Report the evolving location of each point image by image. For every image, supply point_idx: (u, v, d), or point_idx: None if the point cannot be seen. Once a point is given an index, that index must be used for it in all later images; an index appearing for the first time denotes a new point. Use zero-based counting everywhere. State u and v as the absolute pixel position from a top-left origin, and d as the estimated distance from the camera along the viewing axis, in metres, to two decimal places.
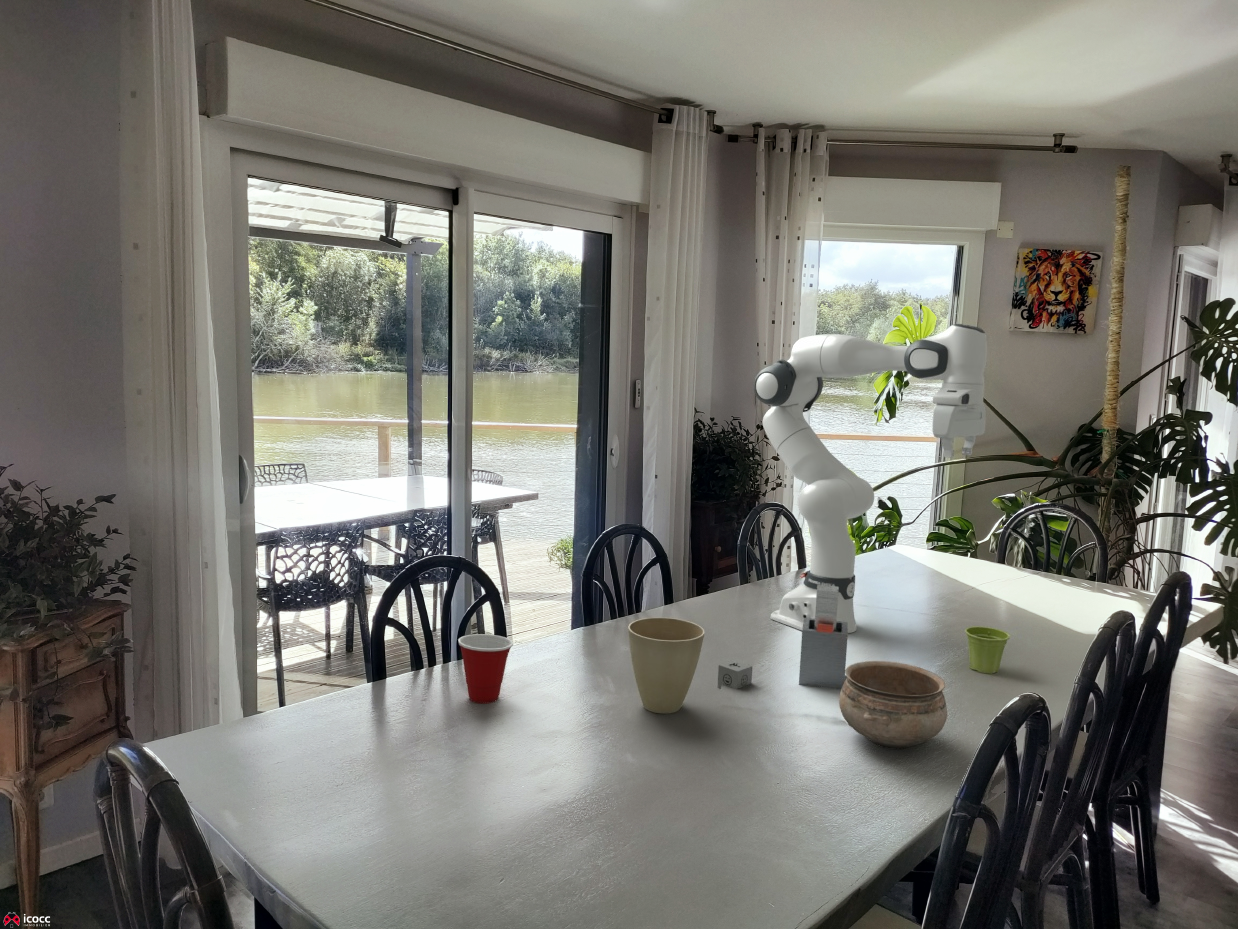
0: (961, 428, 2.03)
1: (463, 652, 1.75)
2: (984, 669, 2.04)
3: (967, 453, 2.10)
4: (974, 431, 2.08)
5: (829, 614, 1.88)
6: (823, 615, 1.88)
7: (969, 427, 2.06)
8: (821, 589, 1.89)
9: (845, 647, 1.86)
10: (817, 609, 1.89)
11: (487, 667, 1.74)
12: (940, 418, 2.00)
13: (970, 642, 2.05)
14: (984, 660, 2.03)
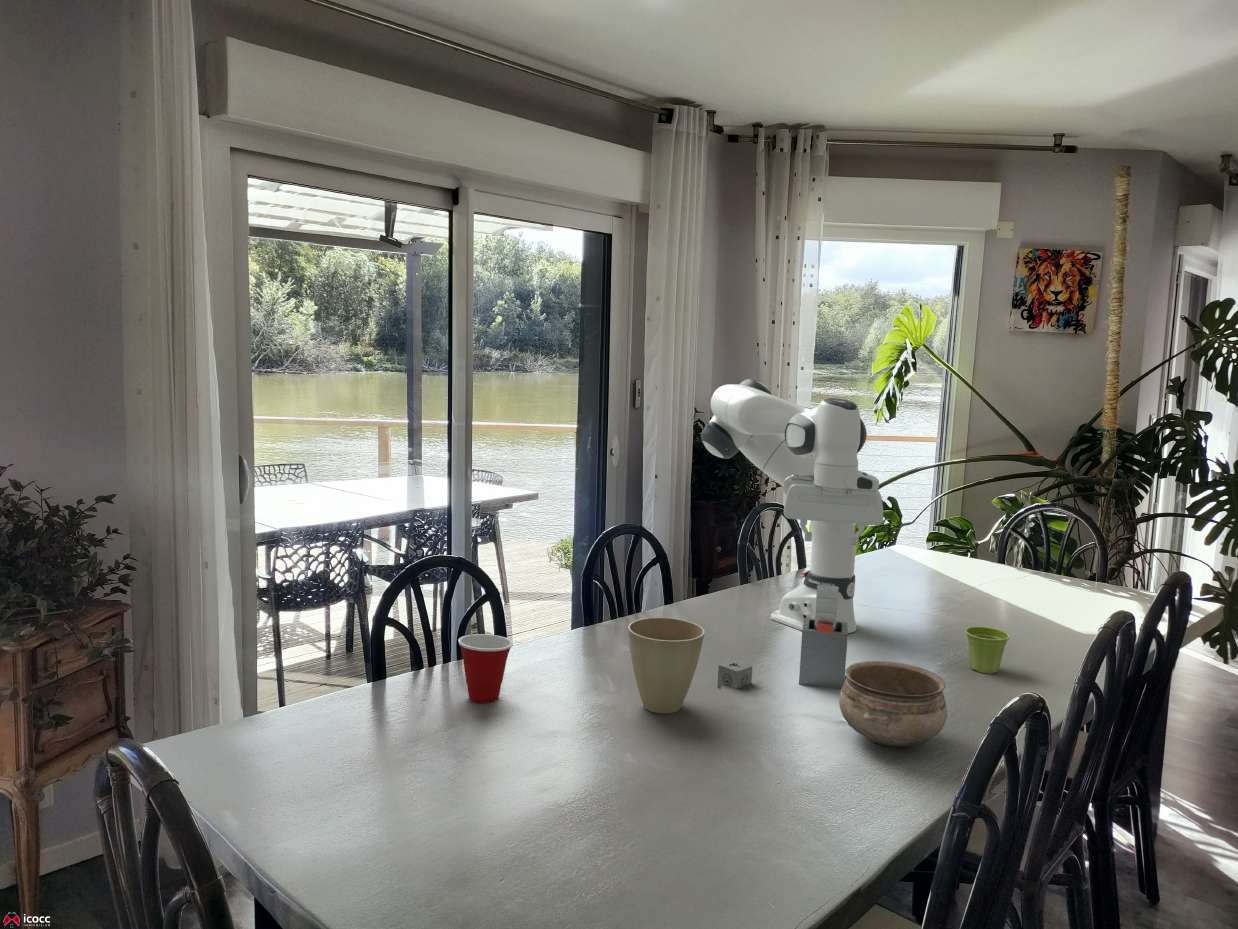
0: None
1: (463, 652, 1.75)
2: (984, 669, 2.04)
3: (811, 538, 1.91)
4: None
5: (829, 614, 1.88)
6: (823, 615, 1.88)
7: None
8: (821, 589, 1.89)
9: (845, 647, 1.86)
10: (817, 609, 1.89)
11: (487, 667, 1.74)
12: None
13: (970, 642, 2.05)
14: (984, 660, 2.03)
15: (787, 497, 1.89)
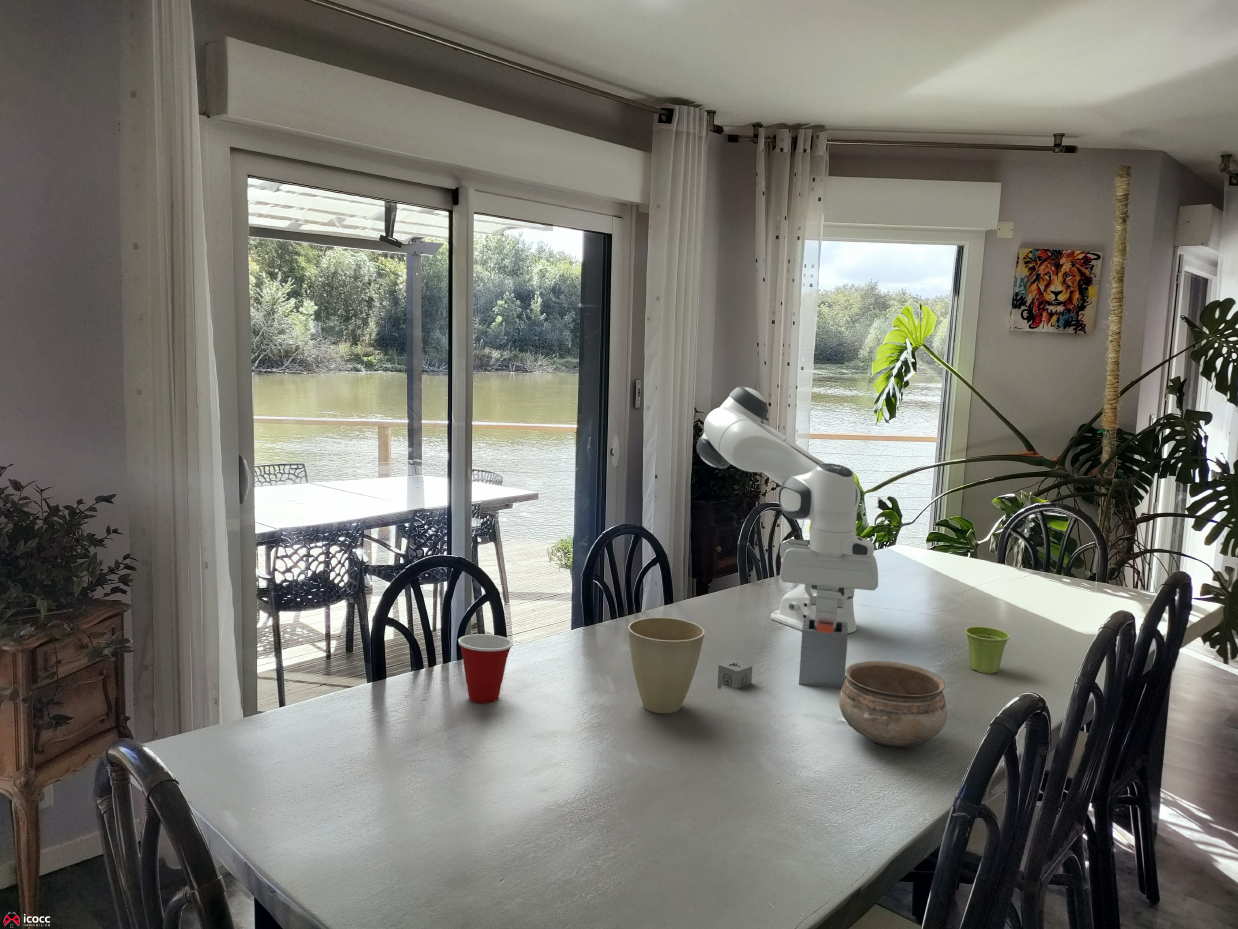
0: None
1: (463, 652, 1.75)
2: (984, 669, 2.04)
3: None
4: None
5: (829, 614, 1.88)
6: (823, 615, 1.88)
7: None
8: (821, 589, 1.89)
9: (845, 647, 1.86)
10: (817, 609, 1.89)
11: (487, 667, 1.74)
12: None
13: (970, 642, 2.05)
14: (984, 660, 2.03)
15: (783, 561, 1.90)
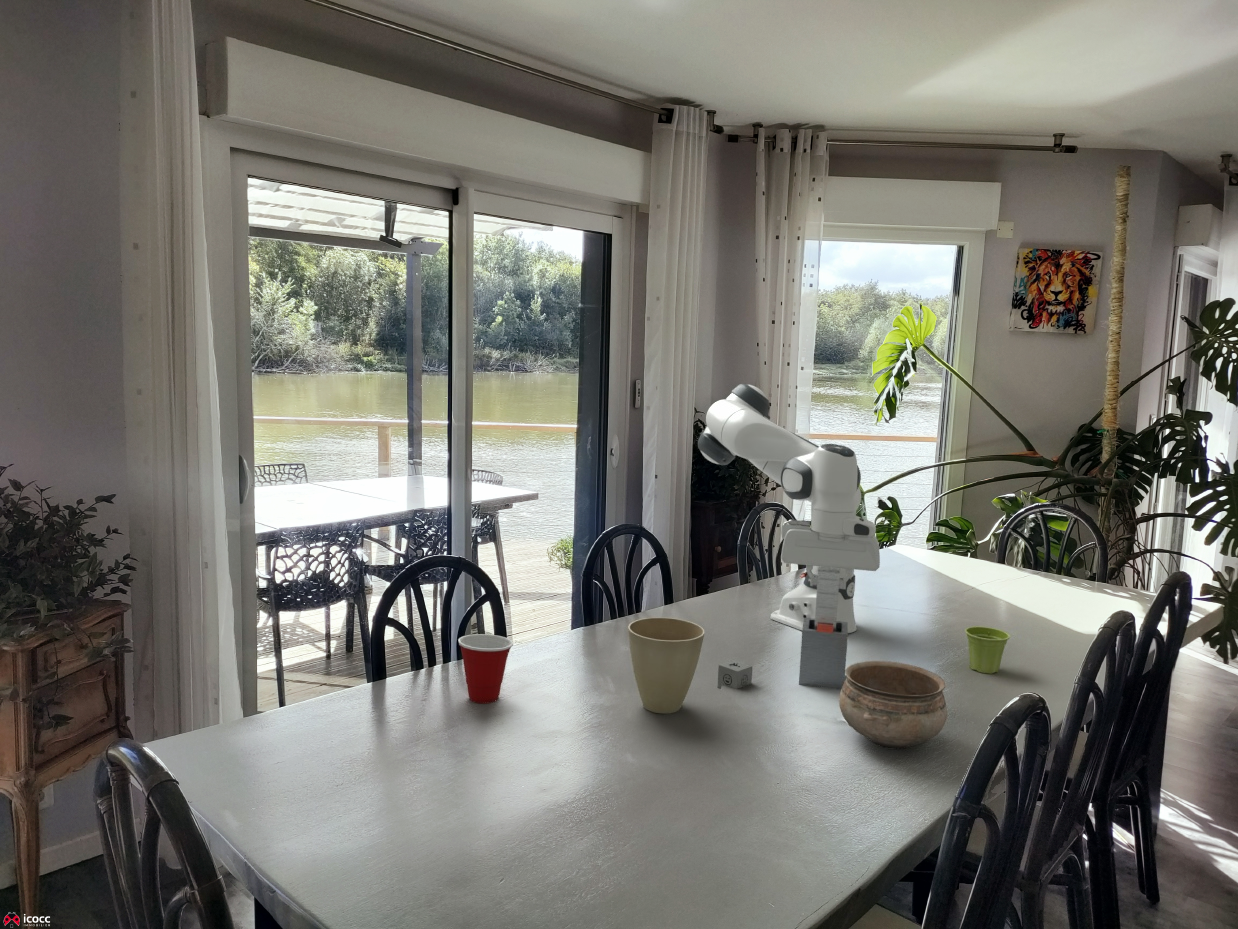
0: None
1: (463, 652, 1.75)
2: (984, 669, 2.04)
3: None
4: None
5: (830, 595, 1.87)
6: (824, 596, 1.88)
7: None
8: (822, 570, 1.89)
9: (845, 647, 1.86)
10: (818, 590, 1.89)
11: (487, 667, 1.74)
12: None
13: (970, 642, 2.05)
14: (984, 660, 2.03)
15: (784, 542, 1.90)
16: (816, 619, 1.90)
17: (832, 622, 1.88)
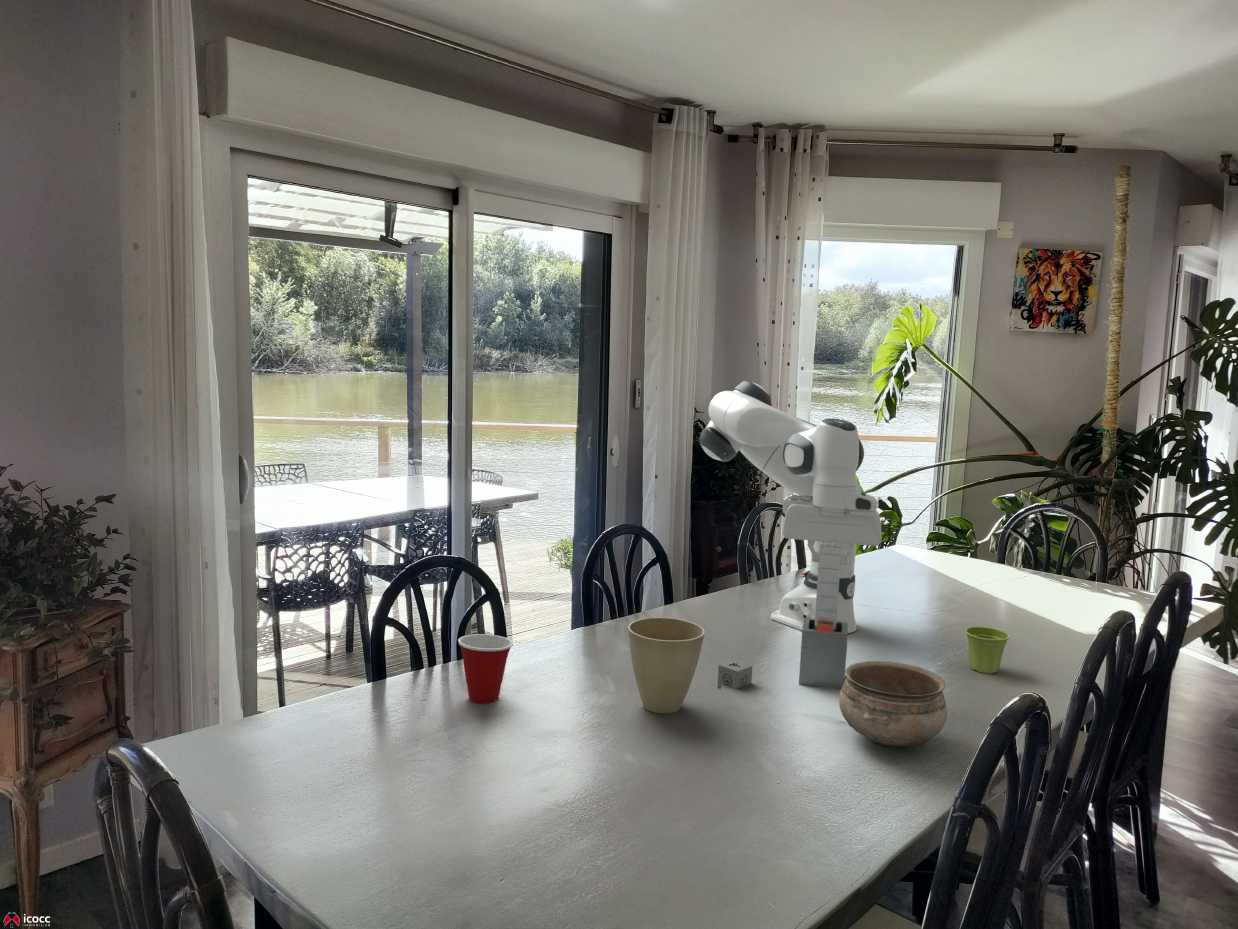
0: None
1: (463, 652, 1.75)
2: (984, 669, 2.04)
3: None
4: None
5: (832, 570, 1.87)
6: (826, 571, 1.87)
7: None
8: (824, 546, 1.88)
9: (845, 647, 1.86)
10: (820, 566, 1.88)
11: (487, 667, 1.74)
12: None
13: (970, 642, 2.05)
14: (984, 660, 2.03)
15: (786, 517, 1.89)
16: (818, 595, 1.89)
17: (834, 597, 1.88)
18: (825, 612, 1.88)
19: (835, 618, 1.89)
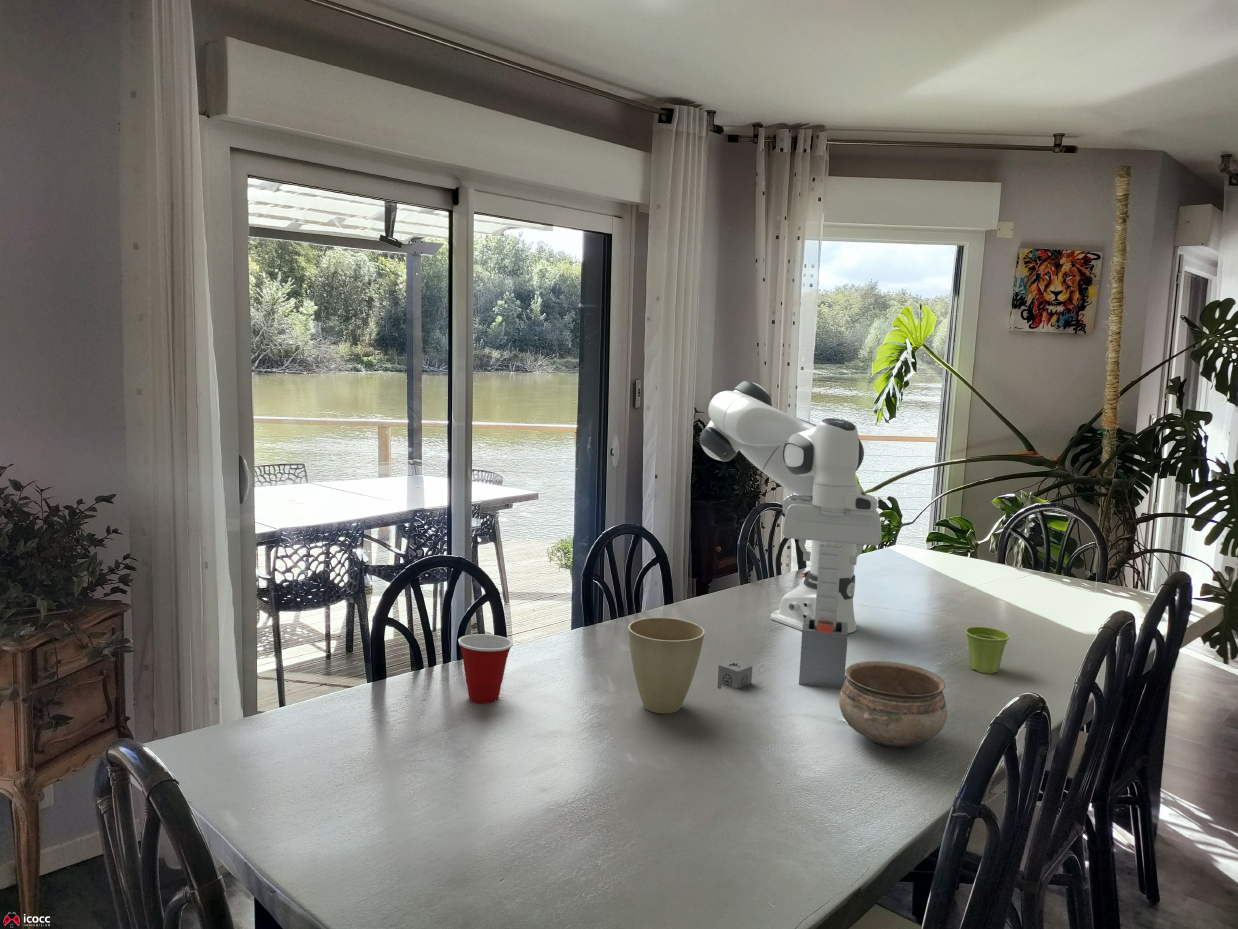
0: None
1: (463, 652, 1.75)
2: (984, 669, 2.04)
3: None
4: None
5: (832, 570, 1.87)
6: (826, 571, 1.87)
7: None
8: (824, 545, 1.88)
9: (845, 647, 1.86)
10: (820, 566, 1.88)
11: (487, 667, 1.74)
12: None
13: (970, 642, 2.05)
14: (984, 660, 2.03)
15: (786, 517, 1.89)
16: (818, 594, 1.89)
17: (834, 597, 1.88)
18: (825, 612, 1.88)
19: (835, 618, 1.89)
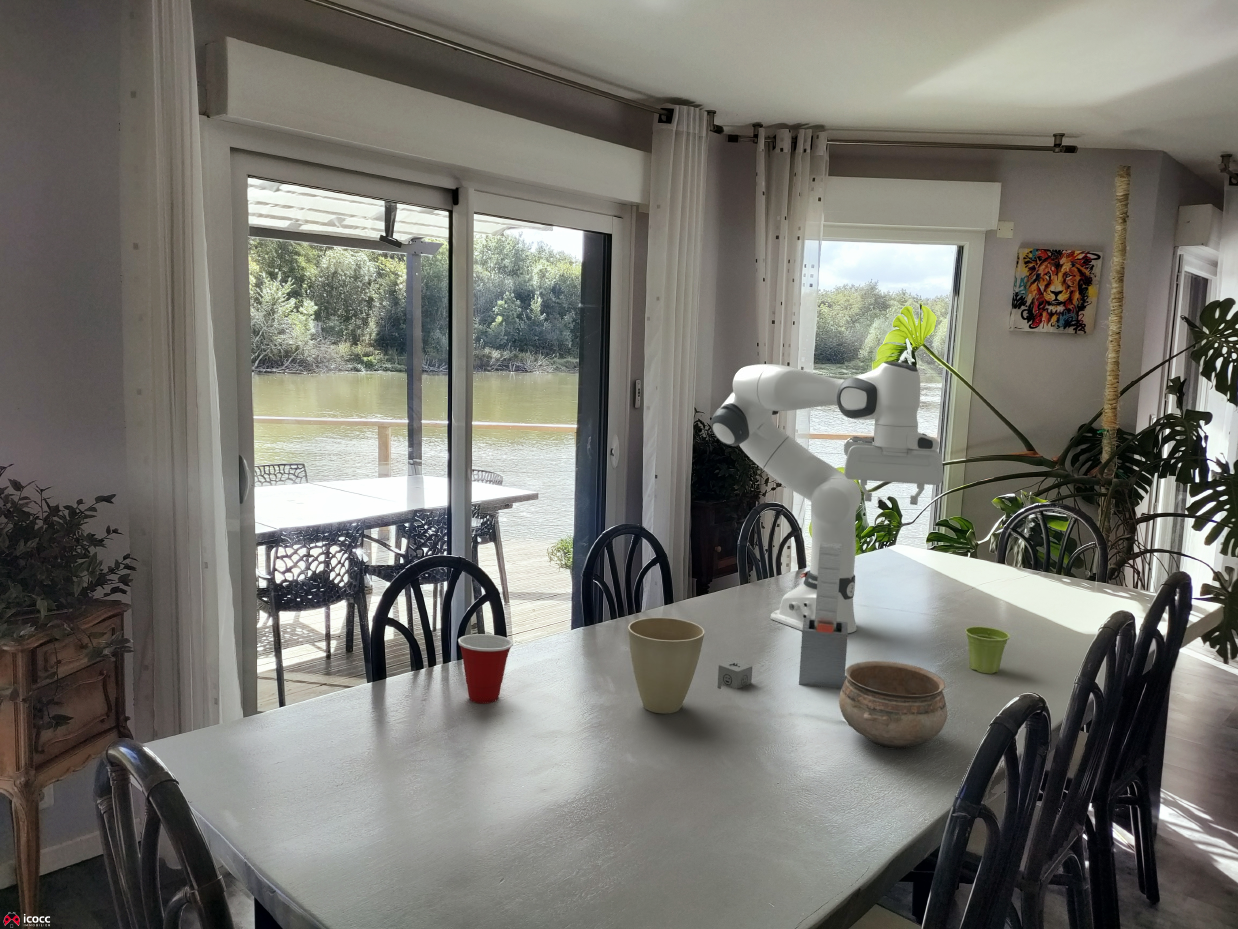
0: None
1: (463, 652, 1.75)
2: (984, 669, 2.04)
3: None
4: None
5: (832, 570, 1.87)
6: (826, 571, 1.87)
7: None
8: (824, 545, 1.88)
9: (845, 647, 1.86)
10: (820, 566, 1.88)
11: (487, 667, 1.74)
12: None
13: (970, 642, 2.05)
14: (984, 660, 2.03)
15: (848, 458, 1.93)
16: (818, 594, 1.89)
17: (834, 597, 1.88)
18: (825, 612, 1.88)
19: (835, 618, 1.89)
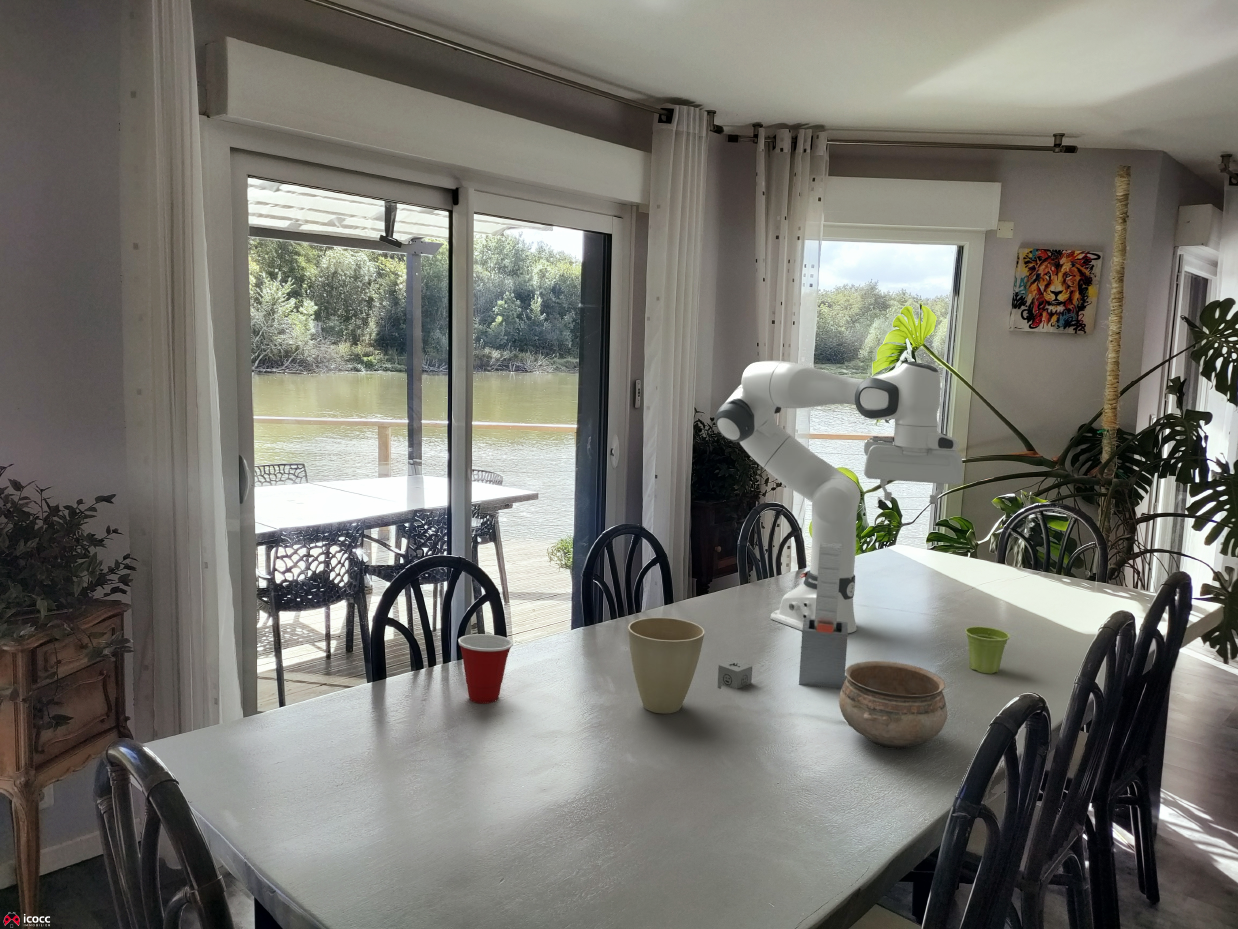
0: None
1: (463, 652, 1.75)
2: (984, 669, 2.04)
3: None
4: None
5: (832, 570, 1.87)
6: (826, 571, 1.87)
7: None
8: (824, 545, 1.88)
9: (845, 647, 1.86)
10: (820, 566, 1.88)
11: (487, 667, 1.74)
12: None
13: (970, 642, 2.05)
14: (984, 660, 2.03)
15: (868, 458, 1.95)
16: (818, 594, 1.89)
17: (834, 597, 1.88)
18: (825, 612, 1.88)
19: (835, 618, 1.89)
